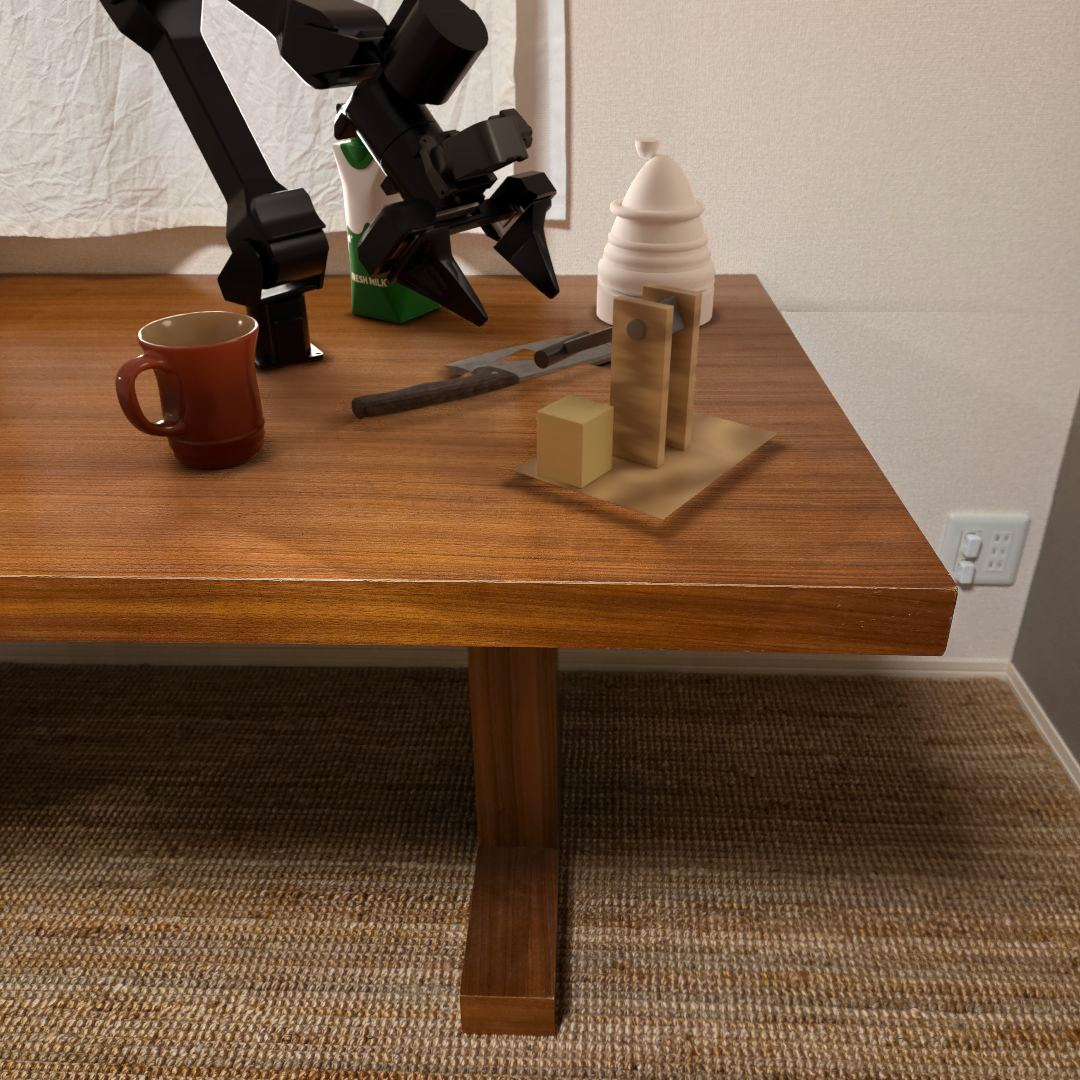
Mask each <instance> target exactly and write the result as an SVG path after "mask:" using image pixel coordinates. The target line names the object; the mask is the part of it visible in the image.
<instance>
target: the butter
mask: <svg viewBox="0 0 1080 1080" xmlns="http://www.w3.org/2000/svg"><path fill="white" fill-rule="evenodd" d="M613 416H614V407H613V406H610V404H605V403H602V402H598V401H595V400H590V399H586V398H583V397H579V396H575V395H571V394H567V395H565V396H564V397H561V398H560V399H558V400H556V401H553V402H552V403H550V404H548V405H545V406H544V407H542V408H540V409H538V410H536V456H537V474H538V475H541V476H544V477H547V478H550V479H553V480H556V481H559V482H563V483H566V484H569V485H572V486H575V487H578V488H583V487H584V486H586V485H588V484H589V483H591V482H592V481H594V480H595V479H597V478H599V477H600V476H602V475H603V474H605V473H606V472H608V471H610V470H611V469H612V445H613Z"/></svg>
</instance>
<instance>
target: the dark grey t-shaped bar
mask: <svg viewBox="0 0 1080 1080" xmlns="http://www.w3.org/2000/svg"><path fill="white" fill-rule="evenodd" d="M656 303H661V304H666V305H672V306H674V312H673V327H672V334H673V333H675V332H677V331H679V330H681V329H683V328H685V326H684V323H683V319H682V316H681V313H680V310H679V307H678V304H677V301H676V298H675V296H671V297H668V298H665V299H662V300H659V301H656ZM571 335H572V336H570V337H567V338H565V339H563V340H561V341H558V342H556V343H554V344H552V345H549V346H547V347H545V348H543V349H540V350H538V351H535V352H534V355H533V360H534V361H535V364H536V365H537V366H538V367H539V368H542V369H545V368H547V367H549V366H551V365H553V364H556V363H558V362H560V361H562V360H564V359H566V358H568V357H570V356H573V355H575V354H577V353H579V352H581V351H584V350H587V349H590V348H593V347H597V346H600V345H603V344H610V343H612V326H610V327H606V328H603V329H599V330H597V331H594V332H589V331H588V330H581V331H579V332H576V333H575V334H571Z"/></svg>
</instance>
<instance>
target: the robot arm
mask: <svg viewBox="0 0 1080 1080" xmlns="http://www.w3.org/2000/svg"><path fill="white" fill-rule="evenodd" d="M225 1H226V2H227V3H228V4H230V5H231V6H232V7H234V8H235V9H237V10H238V11H240V12H241V13H242V14H244V15H245V16H247V17H248V18H249V19H250V20H252V21H253V22H255V23H256V24H257V25H258V26H260V27H261V28H262V29H264V30H266V31H267V32H268V33H269V34H270V36H272V37H273V39H274V40H275V42H276V47H277V49H278V54H279V56H280V57H281V59H282V60H283V61H284V62H285V64H287V66H288V67H289V68H290V69H291V70H292V71H293V72H294V73H295V74H296V75H297V76H298V77H299V78H300V79H301V81H303V83H305V84H306V86H308V87H310V88H312V89H314V90H320V91H322V90H331V89H332V90H333V89H341V88H349V87H355V88H354V89H353V92H352V93H351V95H350V96H349V98H348V99H347V101H346V102H338V103H336V104H335V119H334V122H333V138H334V140H336V141H345V140H351V139H350V138H356V137H360V138H361V140H362V141H363V142H364V144H365V145H366V147H367V148H368V150H369V151H370V153H371V154H372V156H373V157H374V159H375V160H376V161H377V163H378V164H379V166H380V167H381V169H382V170H383V172H384V173H385V175H386V178H385V179H384V180H383V182H382V183H381V185H380V187H381V188H382V190H383V191H384V193H385V194H386V196H389V195H394V194H399V195H400V197H401V198H402V199H403V201H400V202H396V203H392V204H387V205H384V206H383V208H382V209H381V210H380V212H379V213H378V215H377V216H376V217H375V219H374V220H373V222H372V223H371V224H370V226H369V227H368V229H367V230H366V231H365V233H364V234H363V235H362V237H361V238H360V240H359V241H358V242H357V243H358V258H359V261H360V262H361V264H362V265H363V266H364V268H365V269H366V271H367V272H368V274H369V275H370V277H371V278H372V280H373V279H376V278H380V277H383V276H386V275H388V276H387V277H386V280H387V281H388V282H389V283H390V284H394V283H398V284H400V285H402V286H404V287H406V288H409V289H411V290H413V291H415V292H417V293H419V294H421V295H423V296H425V297H427V298H429V299H431V300H433V301H434V302H436V303H438V304H439V305H440V306H442V307H443V308H445V309H447V310H449V311H450V312H452V313H453V314H455V315H457V316H459V317H460V318H462V319H464V320H465V321H468V323H471V324H472V325H474V326H476V327H477V328H481V327H483V326H485V325H486V324H487V323H488V321H489V319H490V317H489V315H488V313H487V311H486V309H485V307H484V305H483V303H482V301H481V299H480V298H479V296H478V294H477V293H476V291H475V289H474V288H473V287H472V284H471V283H470V281H469V280H468V279H467V277H466V275H465V274H464V272H463V270H462V268H461V266H460V265H459V264H458V262H457V260H456V259H455V257H454V254H453V252H452V243H451V236H452V235H456V234H460V233H463V232H467V231H471V230H473V229H477V228H480V229H481V230H482V232H483V233H484V235H485V236H486V237H488V238H490V239H491V240H493V241H495V242H496V243H495V244H494V245H493V247H492V248H493V249H494V251H495V252H497V254H499V255H500V256H501V257H502V258H503V259H504V260H505V261H506V262H508V263H509V264H510V265H511V267H513V268H514V269H515V270H516V271H517V272H518V273H519V274H520V275H522V276H523V278H525V280H527V281H528V282H529V283H530V284H531V285H532V286H533V287H534V288H536V290H538V291H539V292H540V293H541V294H543V296H545V297H546V298H548V300H553V299H555V298H556V297H557V296H558V295H559V294H560V291H561V290H560V286H559V282H558V279H557V275H556V272H555V268H554V264H553V262H552V257H551V254H550V251H549V247H548V242H547V238H546V233H545V222H546V215H547V213H548V211H549V210H551V208H552V205H553V203H552V200H553V198H555V196H556V195H557V189H556V187H555V186H554V184H553V183H552V181H551V180H550V179H549V177H548V176H547V174H546V173H545V172H544V171H538V170H528V171H524V172H520V173H515V174H512V175H508V176H506V177H505V179H504V180H503V181H502V182H501V184H499V186H498V187H497V188H496V189H495V190H494V192H493V193H492V194H491V195H490V196H489V197H488V198H486V195H485V194H484V193H485V192H486V191H487V190H489V189H491V188H492V187H493V186H494V184H495V183H496V182H497V181H498V179H499V178H498V177H497V175H496V174H495V172H497V171H500V170H501V169H504V168H505V167H508V166H509V165H512V164H514V163H516V162H517V163H522V162H524V161H526V160H528V159H529V158H530V155H529V152H528V150H527V149H530V148H531V147H532V145H533V144H532V143H533V139H534V138H533V128H532V126H531V125H529V124H528V122H527V121H526V120H525V119H524V118H523V116H522V115H521V114H520V113H519V112H518V110H517V109H516V108H515V107H511V108H505V109H501V110H499V111H498V114H493V115H490V116H488V117H487V119H484V120H480V121H477V122H476V123H473V124H471V125H469V126H467V127H466V128H463V129H462V130H457V129H456V128H455V129H450V130H443V128H442V127H441V126H440V124H439V122H438V121H437V119H436V118H435V117H434V115H433V114H432V113H431V111H430V110H429V108H428V106H427V105H429V106H442V105H444V104H446V103H447V102H448V101H449V100H450V98H451V97H452V96H453V94H454V93H455V91H456V89H457V88H458V87H459V86H460V85H461V83H462V81H463V80H464V78H465V77H466V76H467V74H468V73H469V71H470V70H471V69H472V67H473V66H474V64H475V63H476V62H477V60H478V59H479V57H480V56H481V55H482V53H483V51H484V50H485V48H486V47H487V46H488V44H489V32H488V29H487V27H486V24H485V23H484V21H483V19H482V17H481V16H480V14H479V13H478V12H477V11H476V10H475V9H471V8H470V7H469V6H468V5H467V4H466V3H464V1H462V0H402V2H401V4H400V5H399V7H398V9H397V10H396V12H395V14H394V16H393V17H392V18H391V21H390V22H389V24H388V23H387V21H386V19H385V18H384V16H382V15H381V13H380V12H379V11H378V10H377V9H375V8H373V7H371V6H369V5H367V4H364V3H361V2H360V1H356V0H225ZM98 2H100V5H101V6H102V7H103V9H104V10H105V12H106V13H107V15H108V16H109V18H110V20H111V21H112V23H113V24H114V25H115V27H116V29H117V30H118V31H119V32H120V33H121V34H122V35H123V36H124V37H125V38H127V39H128V40H130V41H131V42H132V43H134V44H135V45H136V46H137V47H139V48H140V49H142V50H143V51H144V52H145V53H146V54H148V55H149V56H150V57H151V59H152V60H153V62H154V64H155V66H156V68H157V70H158V72H159V73H160V76H161V77H162V80H163V82H164V83H165V85H166V87H167V89H168V91H169V93H170V95H171V97H172V99H173V101H174V103H175V105H176V107H177V109H178V111H179V113H180V114H181V117H182V118H183V121H184V122H185V124H186V126H187V128H188V130H189V132H190V134H191V136H192V137H193V140H194V142H195V144H196V146H197V147H198V150H199V151H200V153H201V155H202V157H203V160H204V161H205V163H206V165H207V167H208V168H209V171H210V173H211V175H212V176H213V179H214V180H215V183H216V184H217V187H218V188H219V190H220V192H221V194H222V196H223V199H224V200H225V203H226V217H225V218H226V220H225V239H226V241H227V244H228V247H229V249H230V251H231V254H230V255H229V257H228V259H227V261H226V262H225V263H224V266H223V268H222V269H221V271H220V273H219V274H218V276H217V278H216V282H217V284H218V287H219V290H220V292H221V295H222V298H223V300H224V301H225V302H229V303H232V304H236V305H240V306H244V307H245V311H246V312H245V313H246V315H248V316H250V317H252V318H254V319H256V320H257V321H258V323H259V332H258V338H257V344H256V352H255V367H257V368H258V369H259V370H269V369H274V368H280V367H285V366H291V365H296V364H301V363H306V362H312V361H317V360H322V359H324V357H325V355H324V352H323V351H322V350H320V349H319V348H318V347H316V345H314V344H313V343H312V342H311V336H310V327H309V326H310V325H309V319H308V311H307V310H308V309H307V301H306V293H309V292H311V291H315V290H317V291H318V290H322V289H323V288H324V283H325V276H326V271H327V263H328V258H329V257H328V256H329V252H330V244H329V240H328V237H327V235H326V233H325V231H324V229H326V228H327V225H326V224H325V222H324V221H323V220H322V219H321V218H320V216H319V214H318V213H317V211H316V209H315V206H314V203H313V202H312V198H311V196H310V193H308V191H307V190H306V189H305V188H303V187H296V188H291V189H288V188H287V187H285V186H284V185H283V184H281V183H280V182H279V181H278V180H277V178H276V177H275V175H274V174H273V172H272V170H271V168H270V166H269V164H268V162H267V159H266V158H265V156H264V154H263V152H262V150H261V147H260V145H259V144H258V142H257V140H256V138H255V136H254V135H253V132H252V130H251V128H250V127H249V125H248V122H247V121H246V118H245V116H244V114H243V113H242V112H243V111H242V110H241V108H240V106H239V105H238V103H237V100H236V99H235V97H234V95H233V93H232V90H231V89H230V87H229V85H228V83H227V81H226V79H225V77H224V75H223V73H222V70H221V69H220V67H219V65H218V63H217V61H216V59H215V57H214V55H213V53H212V50H211V49H210V47H209V46H208V43H207V41H206V39H205V38H204V35H203V31H202V28H203V27H202V26H203V13H204V0H99V1H98Z"/></svg>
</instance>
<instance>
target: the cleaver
mask: <svg viewBox="0 0 1080 1080" xmlns="http://www.w3.org/2000/svg"><path fill="white" fill-rule="evenodd" d="M572 335H573V334H570V335H564V336H558V337H553V338H548V339H543V340H538V341H533V342H528V343H523V344H520V345H519V344H518V345H515V346H510V347H506V348H501V349H497V350H494V351H490V352H485V353H482V354H477V355H474V356H471V357H467V358H463V359H461V360H457V361H453V362H449V363H447V364H443V367H444V368H446V369H448V370H449V371H451V372H452V373H454V374H455V375H457V376H464V375H466V374H469V373H470V374H471V375H468V376H464V377H459V378H453V379H446V380H445V379H444V380H438V381H431V382H430V381H429V382H423V383H419V384H415V385H412V386H408V387H404V388H401V389H396V390H392V391H391V390H390V391H387V392H386V391H385V392H380V393H373V394H365V395H360V396H355V397H353V398H352V399H351V404H350V405H351V411H352V414H353V416H355V417H356V418H357V419H358V420H363V419H366V418H375V417H376V418H377V417H383V416H388V415H394V414H399V413H403V412H404V413H405V412H410V411H413V410H419V409H424V408H428V407H432V406H433V407H434V406H436V405H437V406H438V405H441V404H446V403H450V402H455V401H459V400H463V399H467V398H471V397H476V396H480V395H484V394H488V393H492V392H495V391H498V390H502V389H505V388H509V387H512V386H515V385H519V384H520V382H522V381H523V382H524V381H526V380H529V379H533V378H536V377H540V376H543V375H546V374H547V375H548V374H549V373H554V372H557V371H560V370H564V369H566V368H571V367H574V366H577V365H580V364H586V365H590V366H595V367H596V366H599V365H602V364H605V363H608V362H611V354H612V344H611V345H610V344H609V343H606V344H603V345H600V346H597V347H593V348H590V349H587V350H584V351H581V352H579V353H577V354H575V355H573V356H570V357H568V358H566V359H564V360H562V361H560V362H558V363H556V364H553V365H551V366H549V367H547V368H545V369H542V368H539V367H538V366H537V365H536V364H535V361H534V359H525V360H512V361H511V360H510V361H500V362H499V361H498V360H501V359H503V358H505V357H507V356H510V355H512V354H514V353H517V352H519V351H521V350H525V349H526V350H530V351H533V352H536V351H538V350H540V349H543V348H545V347H547V346H549V345H552V344H554V343H556V342H558V341H561V340H563V339H565V338H567V337H570V336H572ZM496 361H497V362H496Z"/></svg>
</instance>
